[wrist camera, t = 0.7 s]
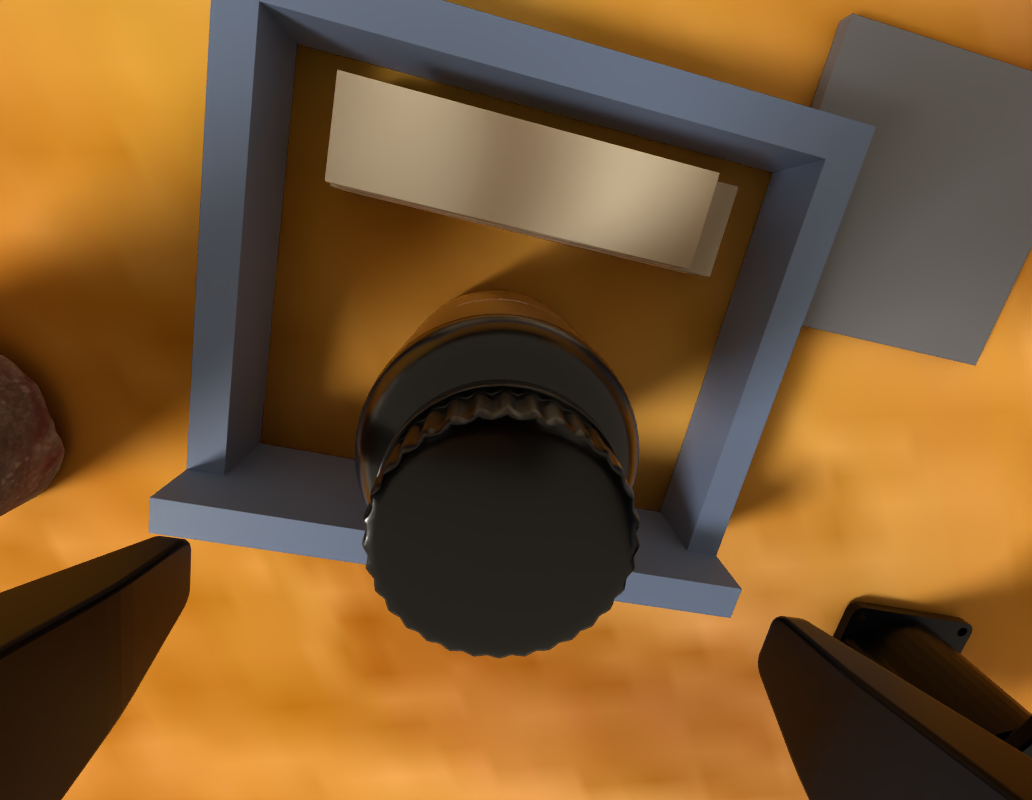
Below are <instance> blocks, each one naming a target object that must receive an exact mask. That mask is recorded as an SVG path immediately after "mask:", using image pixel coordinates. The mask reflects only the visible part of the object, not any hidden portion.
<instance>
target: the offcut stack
mask: <svg viewBox="0 0 1032 800" xmlns="http://www.w3.org/2000/svg"><path fill="white" fill-rule="evenodd" d="M719 174H720V173H718V172H714V171H710V170H707V169H703V168H699V167H696V166H692V165H688V164H684V163H681V162H677V161H673V160H670V159H666V158H662V157H659V156H655V155H651V154H647V153H644V152H640V151H636V150H633V149H629V148H625V147H622V146H618V145H614V144H610V143H607V142H603V141H599V140H596V139H592V138H588V137H585V136H581V135H577V134H574V133H570V132H566V131H562V130H559V129H555V128H551V127H548V126H544V125H540V124H537V123H533V122H529V121H525V120H522V119H518V118H514V117H511V116H507V115H503V114H500V113H496V112H492V111H488V110H485V109H481V108H477V107H474V106H470V105H466V104H463V103H459V102H455V101H451V100H448V99H444V98H440V97H437V96H433V95H429V94H426V93H422V92H418V91H415V90H411V89H407V88H403V87H400V86H396V85H392V84H389V83H385V82H381V81H378V80H374V79H370V78H366V77H363V76H359V75H355V74H352V73H348V72H344V71H341V70H337V78H336V87H335V95H334V104H333V113H332V122H331V130H330V139H329V148H328V156H327V165H326V174H325V181H326V182H329V183H330V186H333V187H335V188H337V189H340V190H342V191H346V192H350V193H354V194H358V195H362V196H366V197H371V198H375V199H379V200H383V201H387V202H391V203H395V204H400V205H404V206H408V207H412V208H416V209H420V210H425V211H429V212H433V213H437V214H441V215H445V216H450V217H454V218H458V219H462V220H466V221H470V222H474V223H479V224H483V225H487V226H491V227H495V228H499V229H504V230H508V231H512V232H516V233H520V234H524V235H529V236H533V237H537V238H541V239H545V240H549V241H553V242H558V243H562V244H566V245H570V246H574V247H578V248H583V249H587V250H591V251H595V252H599V253H603V254H607V255H612V256H616V257H620V258H624V259H628V260H632V261H637V262H641V263H645V264H649V265H653V266H657V267H662V268H666V269H670V270H674V271H678V272H682V273H686V274H691V275H698V276H706V277H710V275H711V272H712V269H713V266H714V263H715V259H716V256H717V253H718V250H719V247H720V244H721V241H722V238H723V235H724V231H725V228H726V225H727V222H728V219H729V216H730V213H731V210H732V206H733V203H734V200H735V197H736V194H737V191H738V188H739V187H738V186H734V185H730V184H726V183H723V182H719V181H717V180H718V177H719Z"/></svg>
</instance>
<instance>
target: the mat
mask: <svg viewBox="0 0 1032 800" xmlns="http://www.w3.org/2000/svg"><path fill="white" fill-rule="evenodd" d="M811 108H814V109H817V110H821V111H824V112H828V113H831V114H834V115H838V116H841V117H845V118H848V119H852V120H855V121H858V122H862V123H865V124H869V125H872V126H876V129H875V131H874V134H873V137H872V139H871V142H870V145H869V147H868V150H867V153H866V155H865V158H864V161H863V163H862V166H861V169H860V172H859V174H858V177H857V180H856V182H855V185H854V188H853V190H852V193H851V196H850V198H849V201H848V204H847V206H846V209H845V212H844V214H843V217H842V220H841V222H840V225H839V228H838V230H837V233H836V236H835V238H834V241H833V244H832V247H831V249H830V252H829V255H828V257H827V260H826V263H825V265H824V268H823V271H822V273H821V276H820V279H819V281H818V284H817V287H816V289H815V292H814V295H813V297H812V300H811V303H810V305H809V308H808V311H807V313H806V316H805V319H804V322H803V324H802V326H806V327H811V328H815V329H819V330H824V331H828V332H832V333H837V334H841V335H845V336H850V337H854V338H858V339H863V340H867V341H871V342H876V343H880V344H884V345H889V346H893V347H897V348H902V349H906V350H910V351H915V352H919V353H923V354H928V355H932V356H936V357H941V358H945V359H949V360H954V361H958V362H962V363H967V364H971V365H976V363H977V361H978V359H979V357H980V355H981V353H982V351H983V349H984V346H985V344H986V342H987V340H988V338H989V336H990V334H991V332H992V330H993V327H994V325H995V323H996V321H997V319H998V317H999V315H1000V313H1001V311H1002V309H1003V306H1004V304H1005V302H1006V300H1007V298H1008V296H1009V294H1010V292H1011V290H1012V287H1013V285H1014V283H1015V281H1016V279H1017V277H1018V275H1019V273H1020V271H1021V269H1022V266H1023V264H1024V262H1025V260H1026V258H1027V256H1028V254H1029V252H1030V250H1031V247H1032V71H1030V70H1027V69H1024V68H1021V67H1018V66H1015V65H1011V64H1008V63H1005V62H1002V61H999V60H996V59H993V58H990V57H987V56H983V55H980V54H977V53H974V52H971V51H968V50H965V49H962V48H959V47H955V46H952V45H949V44H946V43H943V42H940V41H937V40H934V39H931V38H927V37H924V36H921V35H918V34H915V33H912V32H909V31H906V30H903V29H899V28H896V27H893V26H890V25H887V24H884V23H881V22H878V21H875V20H871V19H868V18H865V17H862V16H859V15H856V14H853V13H852V14H851V15H849V16H847V17H846V18H844V19H843V20H841V21H840V23H839V26H838V29H837V31H836V34H835V37H834V40H833V43H832V46H831V49H830V52H829V55H828V58H827V61H826V64H825V67H824V70H823V73H822V76H821V79H820V82H819V85H818V88H817V90H816V93H815V96H814V99H813V102H812V105H811Z"/></svg>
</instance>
